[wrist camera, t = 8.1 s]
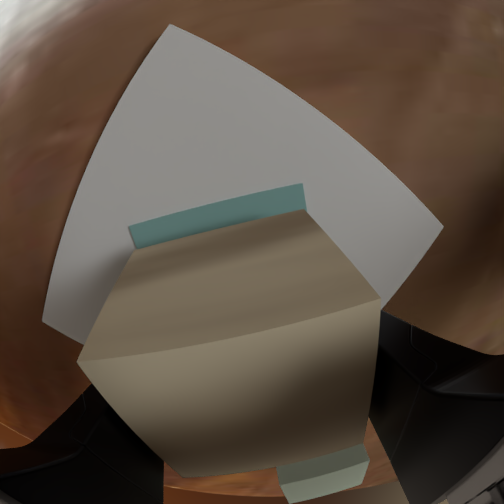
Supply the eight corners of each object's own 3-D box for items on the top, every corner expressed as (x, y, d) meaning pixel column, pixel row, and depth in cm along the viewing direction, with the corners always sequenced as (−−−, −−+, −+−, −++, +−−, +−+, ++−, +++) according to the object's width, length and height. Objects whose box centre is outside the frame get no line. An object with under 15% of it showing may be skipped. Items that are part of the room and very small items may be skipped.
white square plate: (173, 30, 8) (169, 23, 7) (434, 220, 12) (445, 227, 12) (48, 312, 12) (40, 322, 11) (272, 405, 17) (274, 417, 16)
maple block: (134, 250, 9) (76, 361, 4) (303, 209, 9) (381, 298, 4) (188, 368, 11) (182, 477, 7) (320, 339, 11) (362, 442, 7)
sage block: (268, 422, 18) (279, 485, 13) (346, 401, 18) (369, 460, 13) (279, 452, 20) (289, 503, 15) (344, 435, 20) (361, 483, 16)
